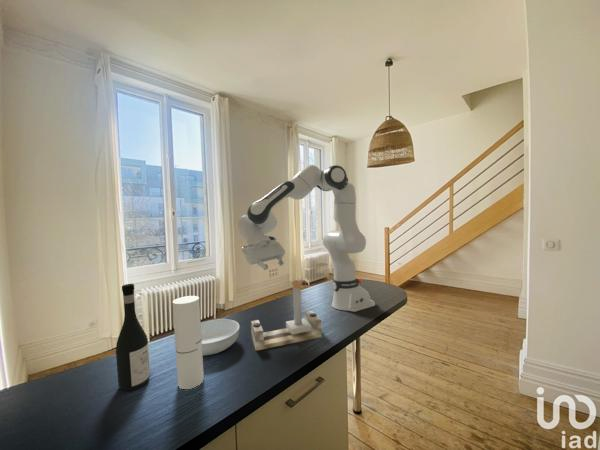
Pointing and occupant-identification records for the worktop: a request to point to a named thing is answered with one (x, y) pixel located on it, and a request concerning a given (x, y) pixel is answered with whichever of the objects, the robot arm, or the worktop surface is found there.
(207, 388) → the worktop surface
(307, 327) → the carriage
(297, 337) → the rail
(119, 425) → the worktop surface
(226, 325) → the serving bowl
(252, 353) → the worktop surface
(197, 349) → the cylindrical container
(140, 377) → the wine bottle
